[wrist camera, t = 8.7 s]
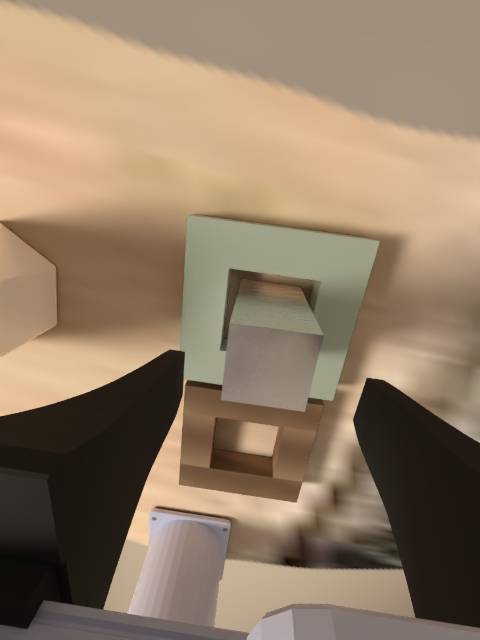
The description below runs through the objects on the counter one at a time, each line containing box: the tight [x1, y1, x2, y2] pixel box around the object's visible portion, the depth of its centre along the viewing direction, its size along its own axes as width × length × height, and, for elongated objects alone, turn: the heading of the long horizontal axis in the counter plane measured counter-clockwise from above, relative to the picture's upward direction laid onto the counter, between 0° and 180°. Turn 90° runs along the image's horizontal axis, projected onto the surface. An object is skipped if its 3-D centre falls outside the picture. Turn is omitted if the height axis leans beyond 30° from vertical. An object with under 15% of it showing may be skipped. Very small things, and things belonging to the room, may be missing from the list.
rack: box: [180, 214, 380, 401], centre depth 19 cm, size 11×11×2 cm
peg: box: [221, 279, 324, 412], centre depth 17 cm, size 4×4×8 cm
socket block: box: [179, 380, 324, 503], centre depth 23 cm, size 10×10×2 cm
